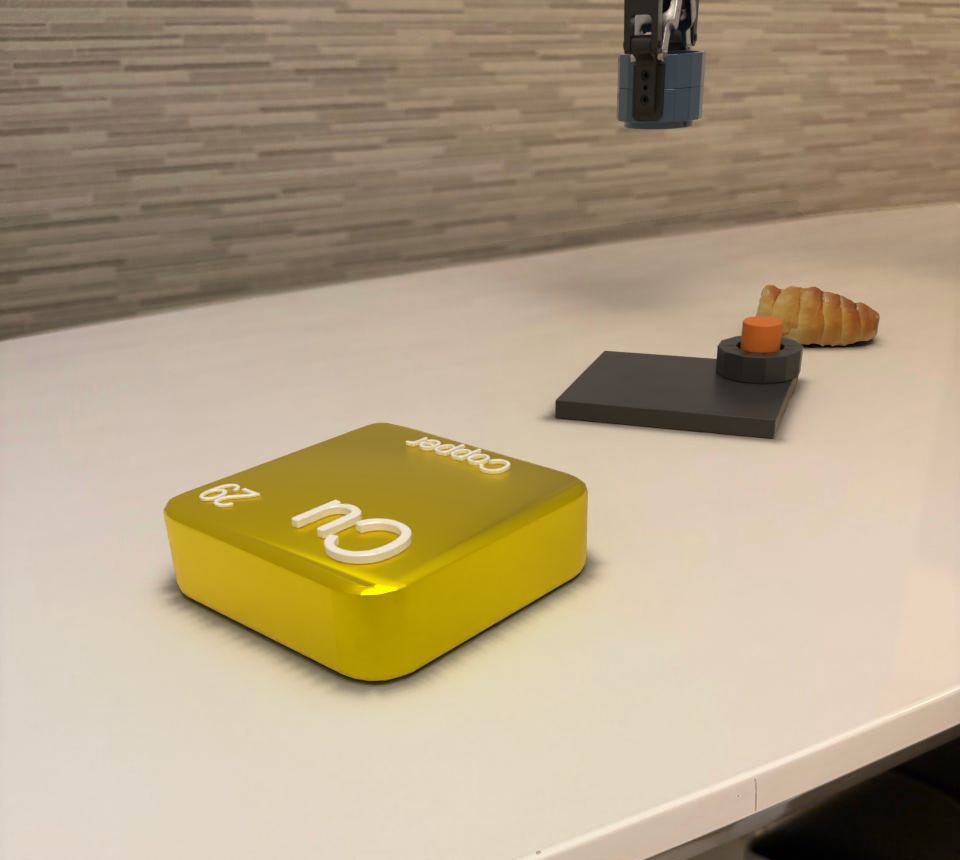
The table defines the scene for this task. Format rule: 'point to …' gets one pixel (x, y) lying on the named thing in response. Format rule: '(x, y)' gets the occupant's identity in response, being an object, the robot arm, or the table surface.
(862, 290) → the table surface
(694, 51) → the blue cup
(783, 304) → the pastry
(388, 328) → the table surface
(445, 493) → the element tile
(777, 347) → the button
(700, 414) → the scale
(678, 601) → the table surface
